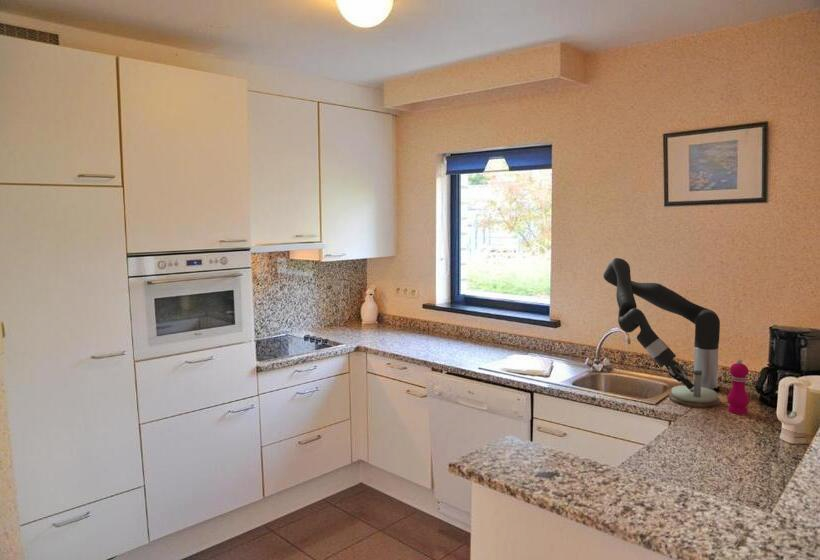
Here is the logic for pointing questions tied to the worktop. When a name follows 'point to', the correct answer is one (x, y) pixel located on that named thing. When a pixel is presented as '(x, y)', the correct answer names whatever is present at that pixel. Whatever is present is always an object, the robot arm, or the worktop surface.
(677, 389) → the dial
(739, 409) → the pepper mill
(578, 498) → the worktop surface
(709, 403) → the grey flat disc
